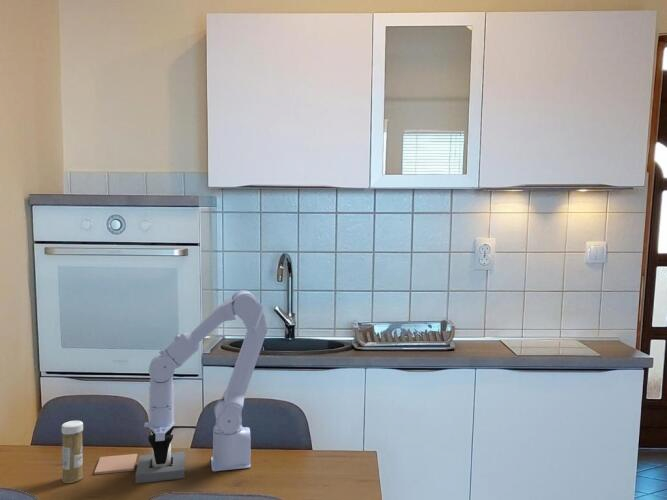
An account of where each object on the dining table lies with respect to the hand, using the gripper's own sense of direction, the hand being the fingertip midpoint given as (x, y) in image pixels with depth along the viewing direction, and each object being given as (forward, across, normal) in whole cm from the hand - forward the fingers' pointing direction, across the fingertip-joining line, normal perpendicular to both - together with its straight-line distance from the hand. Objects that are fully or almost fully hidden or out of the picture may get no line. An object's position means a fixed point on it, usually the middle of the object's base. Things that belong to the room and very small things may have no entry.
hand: (161, 459), depth 129 cm
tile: (+3, -6, -11) cm, 13 cm away
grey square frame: (+3, 0, 0) cm, 3 cm away
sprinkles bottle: (+3, 0, -20) cm, 20 cm away
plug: (+3, 0, 0) cm, 3 cm away
